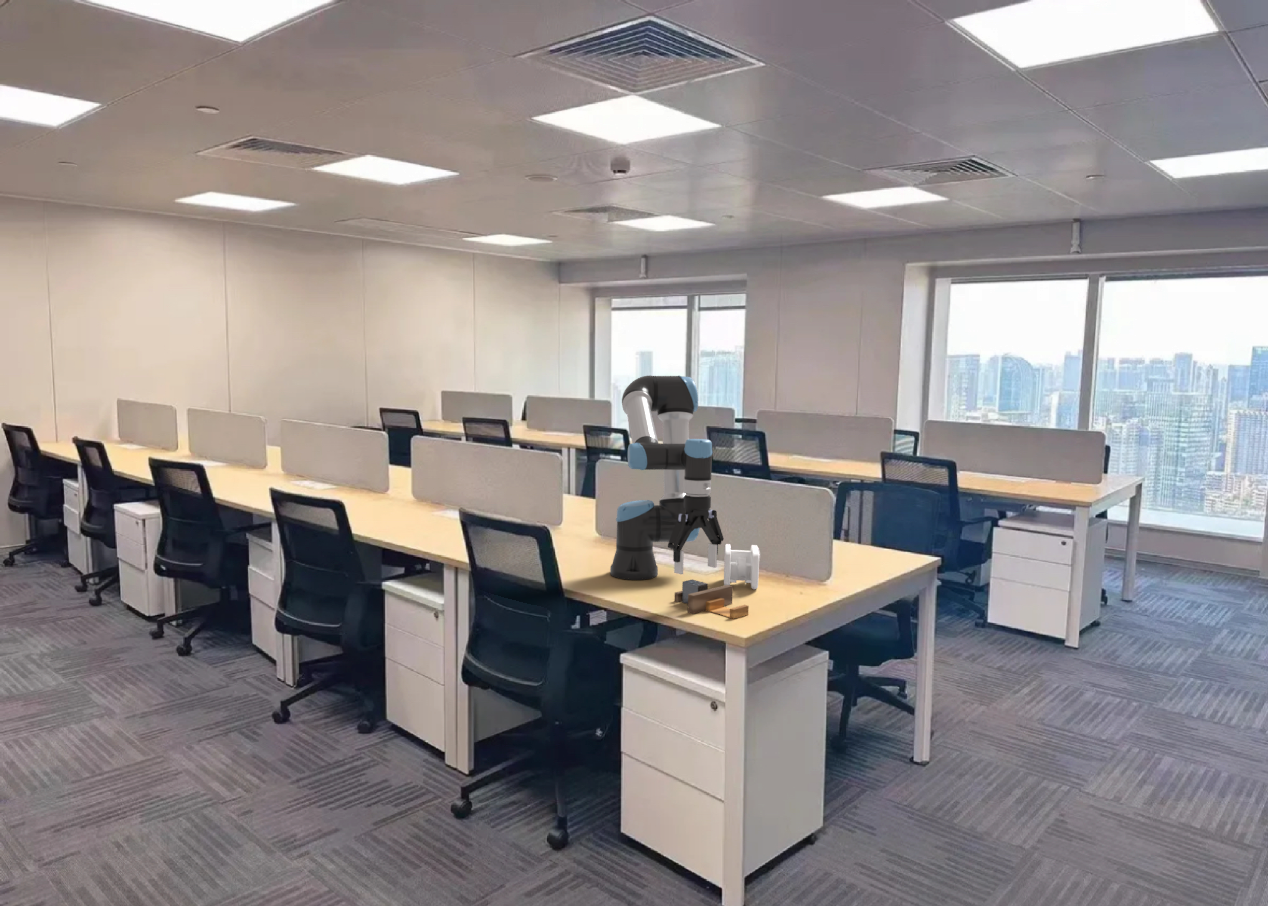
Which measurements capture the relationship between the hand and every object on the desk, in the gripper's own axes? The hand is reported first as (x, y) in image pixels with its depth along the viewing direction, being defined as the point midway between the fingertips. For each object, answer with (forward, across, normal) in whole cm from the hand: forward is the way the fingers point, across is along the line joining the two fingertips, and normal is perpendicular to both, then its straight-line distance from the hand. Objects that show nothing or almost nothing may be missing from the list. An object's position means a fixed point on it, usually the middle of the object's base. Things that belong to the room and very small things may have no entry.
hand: (695, 570), depth 238 cm
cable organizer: (+10, +26, +6) cm, 29 cm away
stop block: (+10, 0, 0) cm, 10 cm away
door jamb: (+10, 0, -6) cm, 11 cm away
